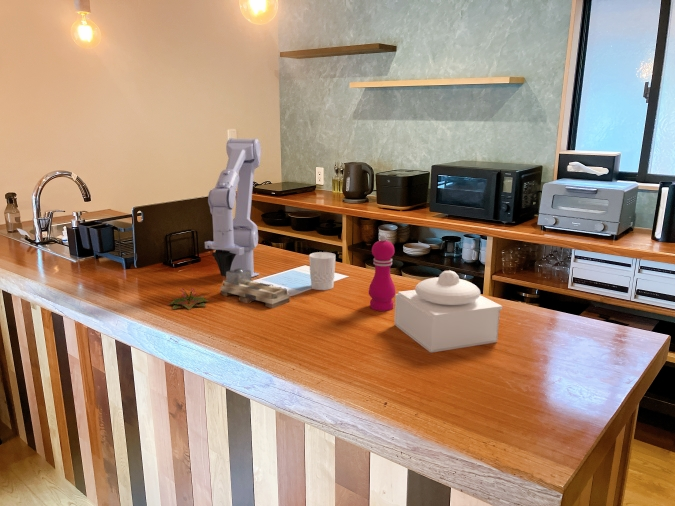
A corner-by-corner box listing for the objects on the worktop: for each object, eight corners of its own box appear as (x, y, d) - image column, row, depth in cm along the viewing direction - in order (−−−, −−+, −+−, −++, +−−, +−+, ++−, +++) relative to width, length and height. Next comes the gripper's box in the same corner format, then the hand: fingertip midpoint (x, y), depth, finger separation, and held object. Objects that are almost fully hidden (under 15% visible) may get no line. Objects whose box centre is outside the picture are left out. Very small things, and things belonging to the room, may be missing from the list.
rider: (226, 286, 154) (226, 270, 153) (239, 282, 158) (238, 266, 157) (239, 289, 151) (238, 273, 150) (251, 285, 155) (251, 269, 154)
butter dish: (394, 325, 132) (396, 263, 128) (456, 317, 138) (460, 257, 135) (430, 353, 116) (434, 283, 112) (499, 342, 122) (505, 275, 119)
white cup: (336, 283, 166) (336, 252, 163) (333, 291, 158) (334, 258, 156) (311, 282, 167) (311, 251, 164) (307, 290, 159) (307, 257, 157)
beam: (218, 295, 154) (217, 282, 153) (241, 287, 161) (240, 275, 160) (269, 309, 142) (269, 295, 142) (291, 300, 150) (291, 287, 149)
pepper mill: (393, 312, 141) (396, 238, 136) (366, 310, 142) (367, 237, 137) (396, 303, 148) (398, 232, 143) (370, 302, 149) (371, 231, 144)
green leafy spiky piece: (212, 310, 143) (211, 294, 142) (165, 314, 140) (164, 297, 139) (210, 296, 154) (209, 281, 153) (167, 299, 151) (166, 284, 150)
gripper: (195, 229, 155) (198, 274, 158) (230, 235, 147) (232, 282, 150) (214, 225, 160) (216, 269, 164) (248, 231, 152) (250, 277, 155)
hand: (225, 275), depth 157 cm, fingers closed
